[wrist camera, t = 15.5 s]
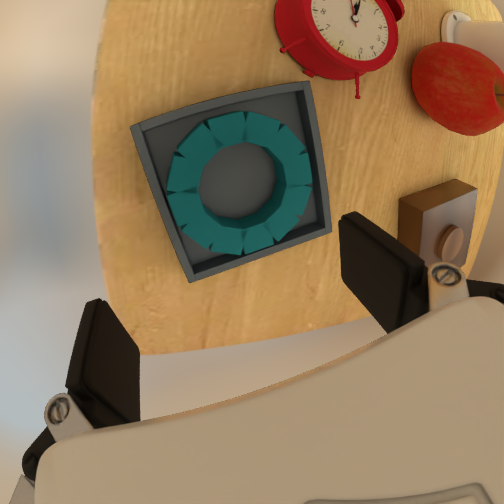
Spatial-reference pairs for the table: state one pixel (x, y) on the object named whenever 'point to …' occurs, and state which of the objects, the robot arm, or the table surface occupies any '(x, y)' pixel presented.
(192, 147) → the ring
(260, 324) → the table surface
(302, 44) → the alarm clock
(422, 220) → the platform
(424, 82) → the apple
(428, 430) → the robot arm
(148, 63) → the table surface
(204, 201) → the tray
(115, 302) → the table surface
